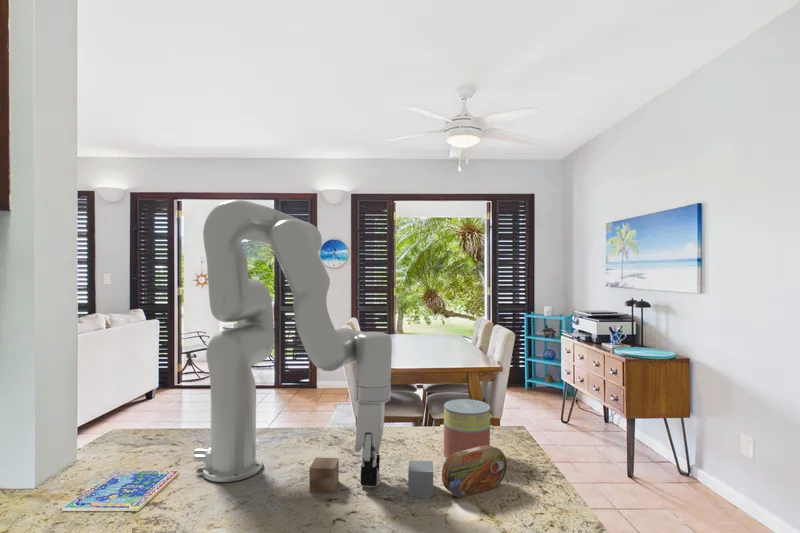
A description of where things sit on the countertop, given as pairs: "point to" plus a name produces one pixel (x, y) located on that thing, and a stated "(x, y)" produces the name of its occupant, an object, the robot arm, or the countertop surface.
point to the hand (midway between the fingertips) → (370, 478)
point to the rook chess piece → (377, 473)
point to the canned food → (465, 425)
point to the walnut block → (324, 475)
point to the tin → (474, 470)
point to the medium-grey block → (420, 478)
